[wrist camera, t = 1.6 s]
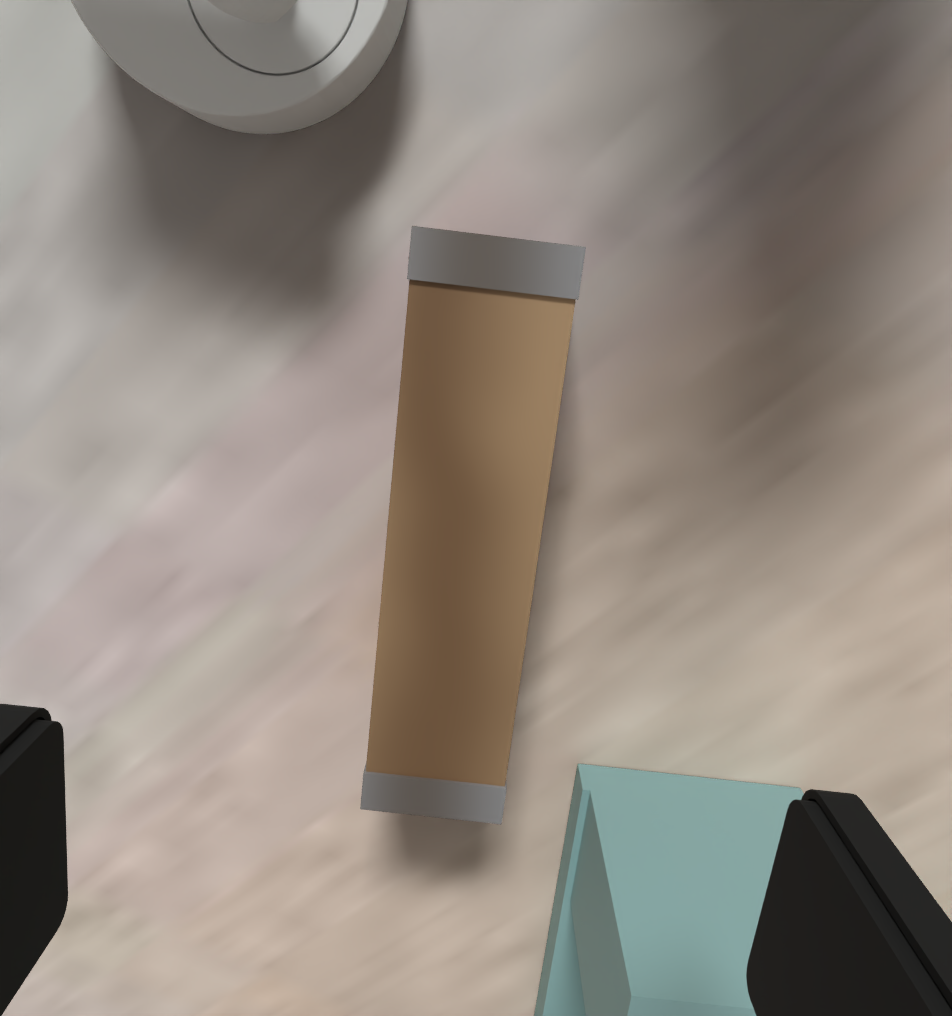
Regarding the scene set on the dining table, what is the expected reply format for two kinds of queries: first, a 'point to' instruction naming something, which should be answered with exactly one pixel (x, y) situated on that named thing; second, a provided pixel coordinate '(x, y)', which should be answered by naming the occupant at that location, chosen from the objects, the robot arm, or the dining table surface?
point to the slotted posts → (659, 894)
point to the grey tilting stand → (249, 54)
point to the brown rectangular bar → (466, 516)
